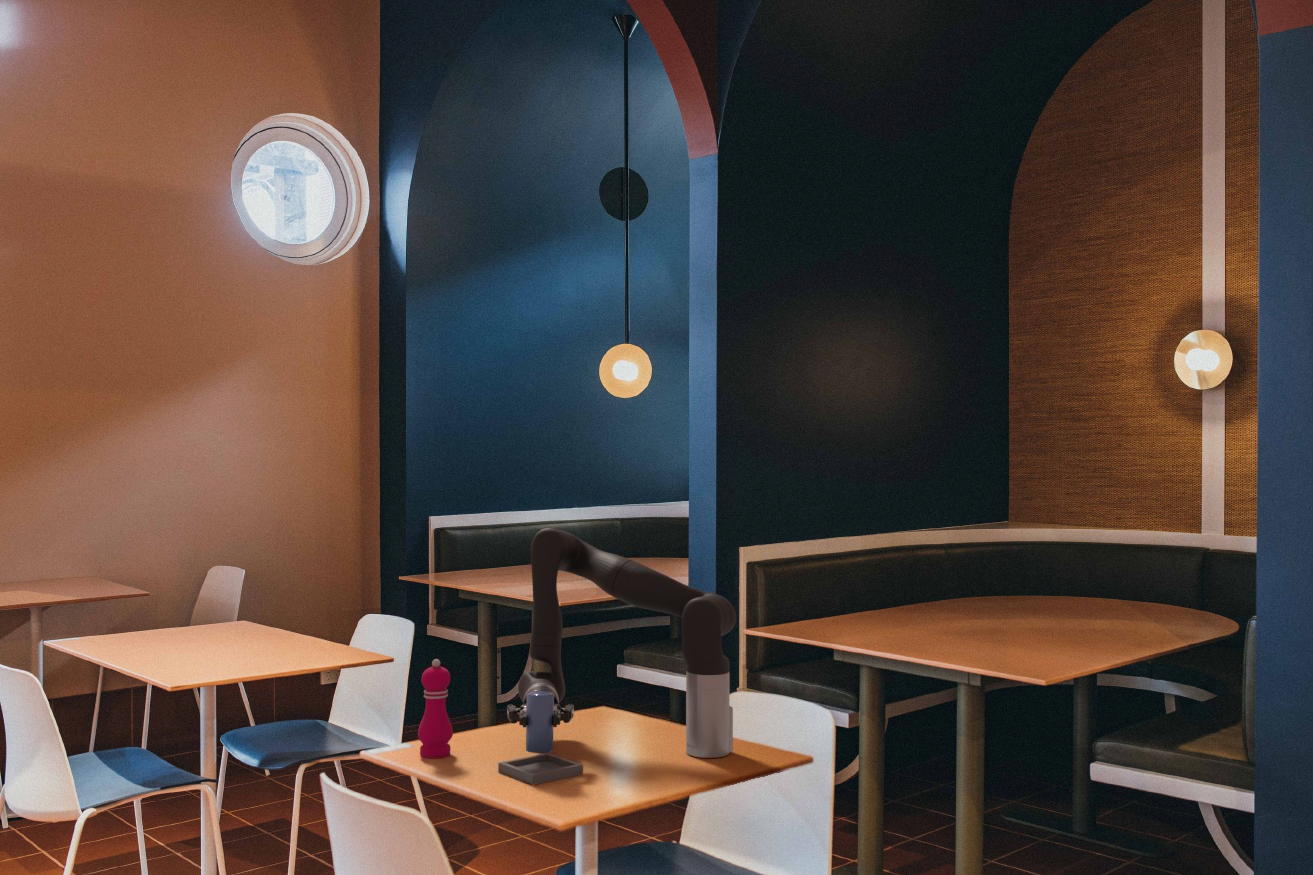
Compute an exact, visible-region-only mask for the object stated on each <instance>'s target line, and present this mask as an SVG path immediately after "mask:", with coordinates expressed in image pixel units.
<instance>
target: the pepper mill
mask: <svg viewBox="0 0 1313 875" xmlns="http://www.w3.org/2000/svg"><path fill="white" fill-rule="evenodd" d="M450 683H451V674H450V672H449V670H448V669H447V668H445V667H443V666H441V661H440V659H438V658H435V659H433V660H432V662H431V666H429V667H427V669H425V670H424V671H423V673H422V674H421V684H422V687H424V690H423V693H424V694H423V698H425V709H424V713H423V717H422V718H421V721H420V724H419V727H418V730H417V738H418V740H419V742H421V744H422V745H421V746H420V748H419V755H420V757H421V758H426V759H440V758H445V757H448V756H449V755H450V754H451V745H450V743H449V742H450V741H451V739H452V738H453V734H454V733H453V731H454V730H453V726H452V723H451V720H450V718H449V716H448V712H447V706H446V700H447V697H448V696H449V694H448V692H449V690H448V689H447V687H448V686H449V685H450Z"/></svg>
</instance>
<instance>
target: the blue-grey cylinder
mask: <svg viewBox="0 0 1313 875" xmlns="http://www.w3.org/2000/svg"><path fill="white" fill-rule="evenodd" d="M526 714H527V721H526V727H525V751H526V752H528V753H533V754H545V753H550V752H552V751H553V750H554V728H555V727H553V714H554V693H553V692H549V691H533V692H529V693H527V709H526Z"/></svg>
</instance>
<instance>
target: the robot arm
mask: <svg viewBox="0 0 1313 875" xmlns="http://www.w3.org/2000/svg"><path fill="white" fill-rule="evenodd" d="M530 546H531V547H530V564H531V566H530V567H531V579H532V580H531V582H532V608H533V609H532V624H531V634H530V644H529V656H530V658H531V659H532V660H535V661H538V662H541V663H545V664H546V665H548V666H549V667H550V671H549V672H548V671H537V670H536V671H535V670H528V671H525V672H524V673H523V674H522V675H521V676H520V678H519V680H518V684H517V685H518V688H517V689H518V696H519V699H520V700H521V702H522V705H520V707H517V706H516V705H514V704H507V706H506V708H507V709H506V711H507V712H506V713H507V714H506V717H507V719H508V721H509V723H511V724H514V725H515V724H517V723H519V724H518V725H519V726H522V728H526V721H527V714H526V709H527V693H529V692H533V691H549V692H553V693H554V714H553V727H554V728H557V727H558V726H560V725H561V722H563V723H565V724H568V723H570V722H571V721H572V719H573V718H574V717H575V716H574V715H575V712H574V708H575V704H572V703H569V704H567V705H565V706H564V707H562V706H561V705H560V703H561V702H562V700H563V699H564V698H565V694H566V683H565V678H564V673H563V668H562V660H561V659H562V658H561V657H562V656H561V655H562V654H561V652H562V650H561V649H562V642H563V628H564V627H563V626H564V625H563V617H562V611H561V607H560V602H559V598H558V586H557V584H558V583H557V582H558V572H559V571H560V572H565V573H566V572H567V573H570V574H573V575H576V576H578V577H582V578H584V579H587V580H589V581H590V582H593V583H594V585H595V586H597V587H598V588H599V589H601V590H602V591H603V592H604V593H606V594H607V595H609V596H610V597H613V598H615V599H617V600H619V601H620V602H621V601H622V602H624V603H626V604H628V605H631V606H633V607H636V608H640V609H645V610H649V611H655V612H660V613H664V614H669V615H673V616H675V617H678V618H681V645H682V647H681V648H682V656H683V659H684V662H685V665H686V666H685V674H686V675H685V676H686V677H685V682H686V683H685V685H686V686H685V690H686V691H685V692H686V693H685V694H686V695H685V698H686V699H685V703H686V705H685V706H686V707H685V709H686V710H685V712H686V713H685V720H686V721H685V722H686V724H685V745H686V746H685V747H686V749H685V753H686V755H689V756H692V757H696V758H702V759H705V758H707V759H713V758H721V757H726V756H728V755H730V753H733V751H734V743H733V741H734V738H733V737H734V708H733V706H731V705H730V660H729V658H728V657H727V656H726V655H724V653H723V647H722V637H724V636H725V635H727V634H729V633H730V632H731V631H732V630H733V629H734V628H735V625H736V623H737V612H736V609H735V608H734V606H733V605H732V603H731V602H730V601H729V600H728V599H727V598H725V597H724V596H722V595H720V594H716V593H712V592H710V591H706V590H704V589H703V590H702V589H699V588H696V587H693V586H689V585H687V584H685V583H682V582H680V581H679V580H676V579H675V578H672V577H670V576H668V575H666V574H664V573H662V572H659V571H657V570H655V569H653V568H650V567H649V566H646V565H644V564H642V563H639V562H637V561H635V560H633V559H630V558H626V557H625V556H622V555H618V554H615V553H610V552H607V551H603V550H601V549H599V548H597V547H594V546H593V545H592V544H590V543H588V542H586V541H584V540H583V539H580V538H579V537H578V536H576V535H574V534H573V533H571V532H568V531H565V530H560V529H557V528H553V527H552V528H551V527H546V528H541V529H540V530H539V531H537V532H536V533H535V535H534V536H533V538H532V541H531V544H530Z"/></svg>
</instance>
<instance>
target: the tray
mask: <svg viewBox="0 0 1313 875" xmlns="http://www.w3.org/2000/svg"><path fill="white" fill-rule="evenodd" d="M497 768H498V773H500V774H503V775H506V776H508V777H510V778H514V779H516V780H518V781H521V782H524V783H527V784H529V785H531V786H535V785H537V784H538V785H539V784H543V783H548V782H553V781H558V780H560V779H566V778H571V777H575V776H580V775H584V764H582V763H579V762H576V761H574V760H571V759H567V758H564V757H562V756H558V755H557V754H553V753H550V752H547V753H539V754H537V755H536V754H535V755H531V756H526V757H521V758H515V759H511V760H505V761H500V762H498V767H497Z"/></svg>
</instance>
